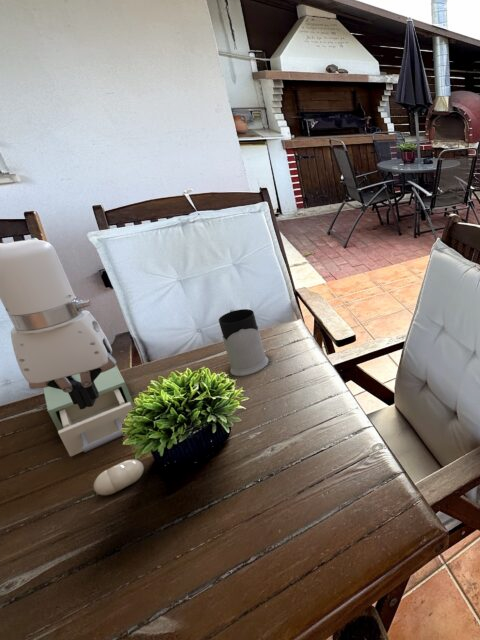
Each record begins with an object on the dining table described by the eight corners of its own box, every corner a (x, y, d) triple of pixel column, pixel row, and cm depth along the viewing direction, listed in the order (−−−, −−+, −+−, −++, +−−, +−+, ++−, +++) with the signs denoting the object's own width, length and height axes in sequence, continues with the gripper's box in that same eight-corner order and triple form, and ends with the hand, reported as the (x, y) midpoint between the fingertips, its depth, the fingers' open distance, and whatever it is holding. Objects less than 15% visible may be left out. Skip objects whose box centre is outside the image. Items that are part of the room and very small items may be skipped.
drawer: (146, 439, 82) (137, 417, 79) (74, 473, 74) (62, 449, 72) (127, 400, 92) (119, 380, 90) (63, 426, 85) (52, 404, 83)
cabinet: (136, 409, 91) (124, 382, 88) (62, 440, 83) (47, 410, 80) (123, 385, 99) (113, 359, 96) (55, 411, 91) (42, 383, 88)
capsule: (100, 506, 69) (91, 487, 67) (96, 491, 71) (87, 473, 70) (149, 480, 74) (142, 462, 72) (144, 467, 76) (136, 449, 75)
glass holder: (233, 380, 101) (218, 328, 96) (224, 356, 111) (209, 308, 105) (272, 366, 106) (259, 316, 101) (259, 344, 116) (248, 298, 111)
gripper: (112, 294, 73) (145, 377, 79) (-12, 318, 65) (35, 408, 71) (104, 310, 67) (140, 398, 74) (-34, 338, 59) (20, 435, 65)
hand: (88, 403), depth 72 cm, fingers closed
